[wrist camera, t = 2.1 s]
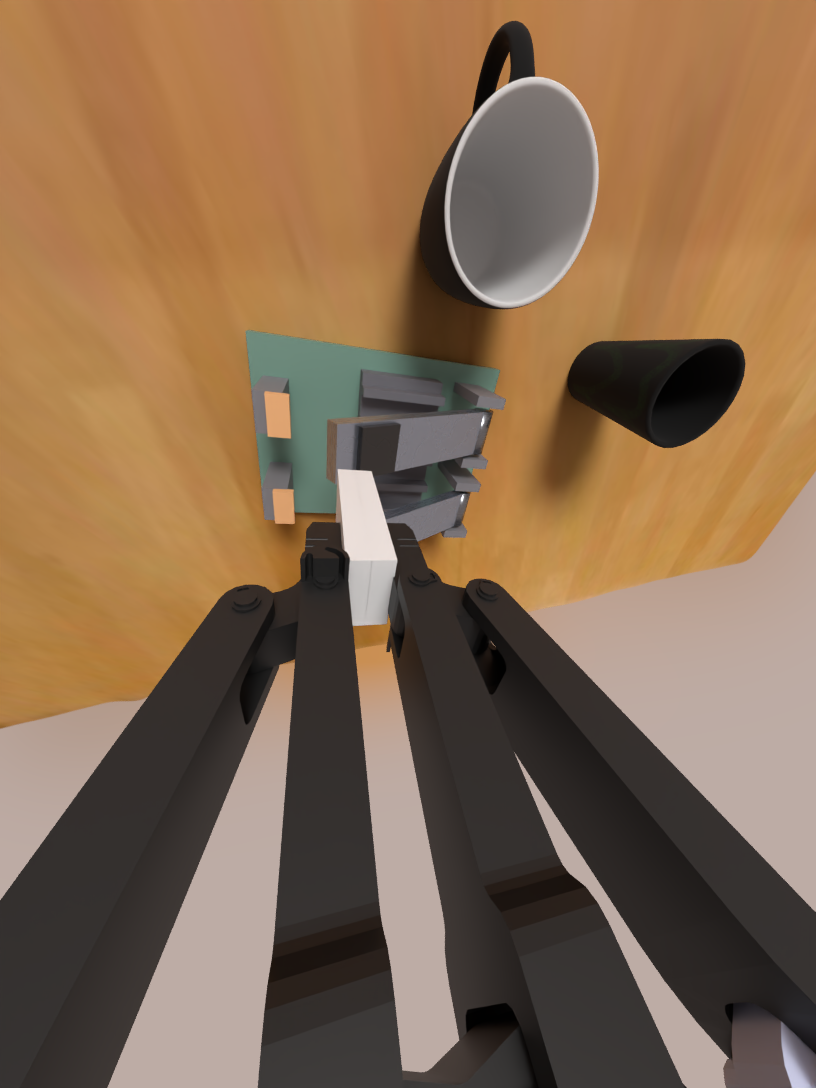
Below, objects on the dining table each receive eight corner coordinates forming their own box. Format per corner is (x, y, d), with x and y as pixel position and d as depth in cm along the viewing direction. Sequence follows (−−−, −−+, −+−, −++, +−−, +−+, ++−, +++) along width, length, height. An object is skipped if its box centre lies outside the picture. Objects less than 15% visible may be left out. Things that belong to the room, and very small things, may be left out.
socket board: (265, 505, 36) (254, 547, 29) (248, 329, 27) (226, 337, 21) (456, 511, 41) (479, 547, 35) (494, 368, 32) (534, 383, 26)
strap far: (322, 568, 25) (335, 581, 24) (323, 528, 23) (336, 540, 22) (453, 517, 35) (465, 524, 34) (461, 485, 33) (474, 492, 32)
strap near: (323, 476, 21) (339, 487, 20) (324, 417, 19) (341, 426, 18) (470, 447, 31) (485, 453, 30) (481, 407, 29) (497, 412, 28)
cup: (544, 399, 35) (627, 435, 26) (585, 316, 31) (701, 322, 22) (598, 418, 38) (691, 457, 28) (642, 344, 34) (767, 359, 24)
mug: (505, 306, 29) (574, 307, 21) (406, 309, 28) (440, 311, 20) (532, 87, 22) (650, -33, 14) (402, 77, 21) (452, -64, 13)
